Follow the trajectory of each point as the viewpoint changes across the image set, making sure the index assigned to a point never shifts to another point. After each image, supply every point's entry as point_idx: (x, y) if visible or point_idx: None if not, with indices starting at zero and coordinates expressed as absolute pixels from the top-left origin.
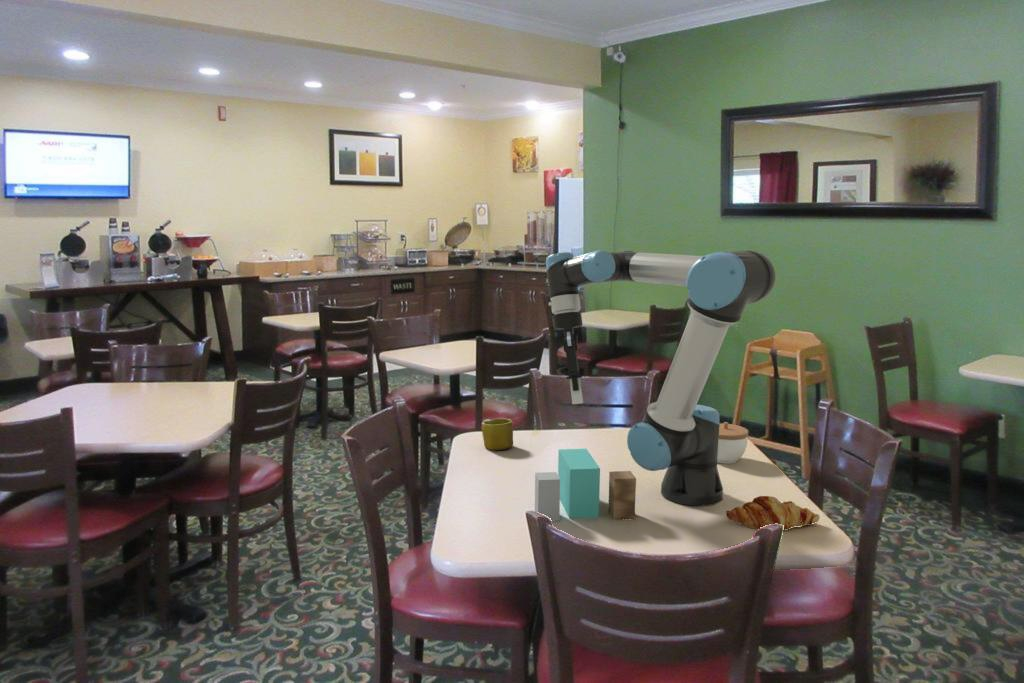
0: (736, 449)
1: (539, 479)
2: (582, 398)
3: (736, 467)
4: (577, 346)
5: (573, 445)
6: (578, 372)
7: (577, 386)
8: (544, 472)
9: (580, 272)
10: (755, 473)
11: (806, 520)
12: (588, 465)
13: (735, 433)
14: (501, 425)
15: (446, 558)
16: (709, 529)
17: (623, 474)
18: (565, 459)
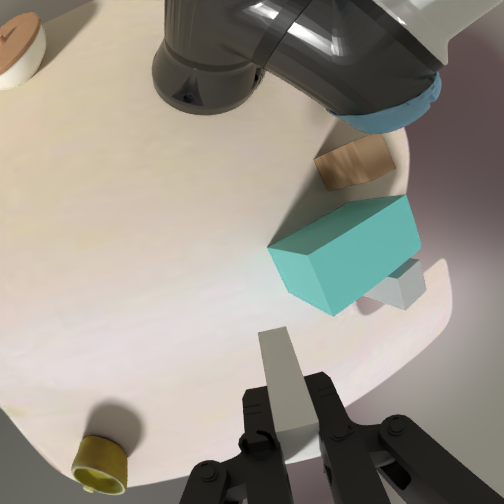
0: (44, 30)
1: (424, 290)
2: (282, 340)
3: (57, 44)
4: None
5: (20, 343)
6: (404, 424)
7: (333, 388)
8: (402, 296)
9: None
10: (82, 19)
11: None
12: (401, 219)
13: (30, 20)
14: (113, 475)
15: (448, 319)
16: None
17: (373, 153)
18: (386, 275)
